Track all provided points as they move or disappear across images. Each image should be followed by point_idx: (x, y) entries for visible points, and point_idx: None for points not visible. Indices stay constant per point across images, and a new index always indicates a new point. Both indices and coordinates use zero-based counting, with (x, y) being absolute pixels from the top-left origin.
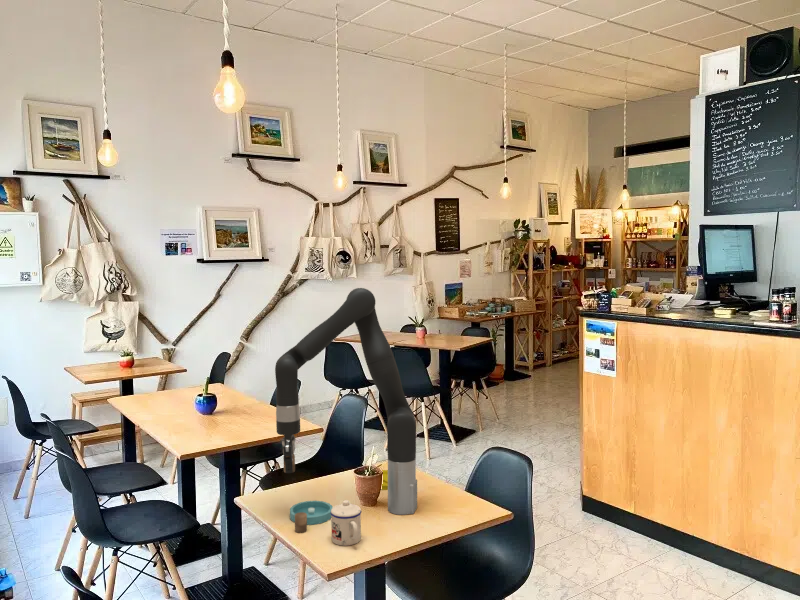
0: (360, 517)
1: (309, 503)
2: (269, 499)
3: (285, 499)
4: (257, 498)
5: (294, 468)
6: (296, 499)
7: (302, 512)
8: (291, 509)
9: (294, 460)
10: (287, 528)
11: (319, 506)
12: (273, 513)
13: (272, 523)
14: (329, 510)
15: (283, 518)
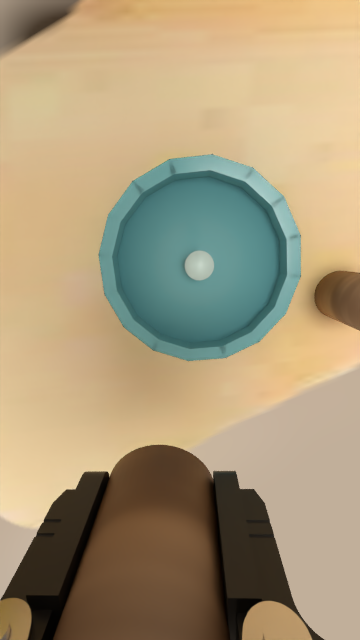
0: None
1: (116, 281)
2: (28, 440)
3: (24, 384)
4: (21, 480)
5: (180, 471)
6: (21, 341)
7: (352, 300)
8: (201, 353)
9: (167, 562)
10: (308, 347)
11: (122, 233)
12: (163, 411)
13: (255, 404)
14: (227, 171)
15: (212, 371)
